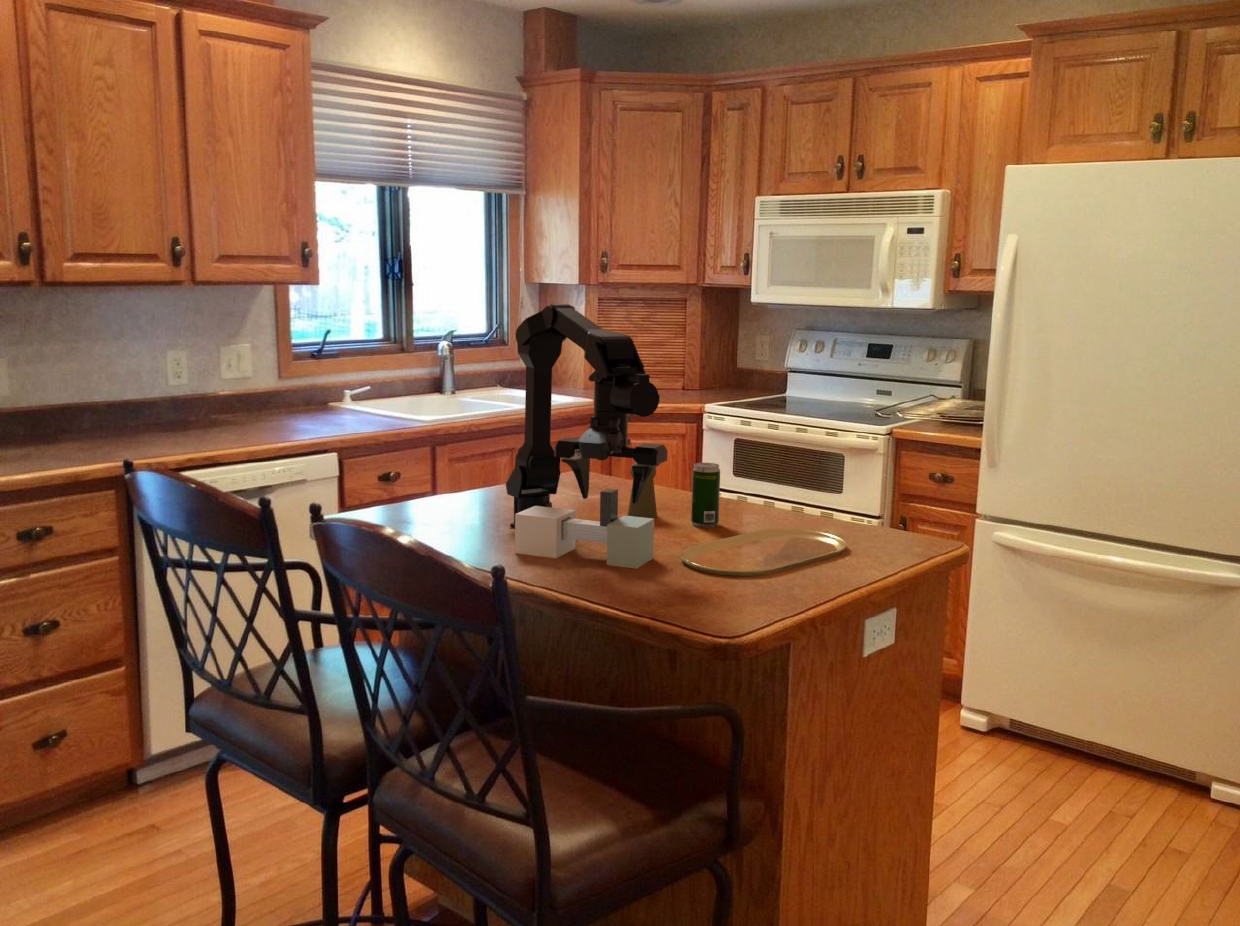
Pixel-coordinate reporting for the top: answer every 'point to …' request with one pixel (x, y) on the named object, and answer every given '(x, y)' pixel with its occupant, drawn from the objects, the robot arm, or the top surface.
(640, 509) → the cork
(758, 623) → the top surface
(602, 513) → the grey bridging bar
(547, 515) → the sleeve
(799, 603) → the top surface
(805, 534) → the serving platter
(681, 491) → the top surface
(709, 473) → the beer can
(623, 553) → the socket block
